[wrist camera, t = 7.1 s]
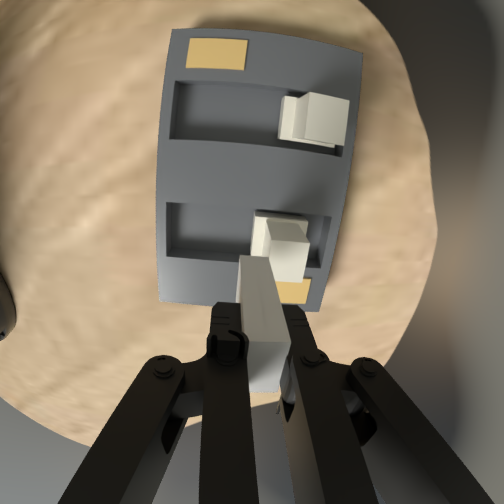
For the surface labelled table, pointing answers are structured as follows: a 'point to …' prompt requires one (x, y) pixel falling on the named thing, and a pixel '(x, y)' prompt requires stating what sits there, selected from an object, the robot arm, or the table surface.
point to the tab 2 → (314, 119)
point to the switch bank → (245, 158)
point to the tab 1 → (281, 244)
